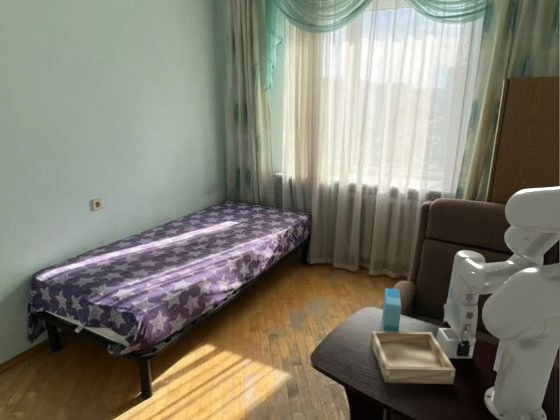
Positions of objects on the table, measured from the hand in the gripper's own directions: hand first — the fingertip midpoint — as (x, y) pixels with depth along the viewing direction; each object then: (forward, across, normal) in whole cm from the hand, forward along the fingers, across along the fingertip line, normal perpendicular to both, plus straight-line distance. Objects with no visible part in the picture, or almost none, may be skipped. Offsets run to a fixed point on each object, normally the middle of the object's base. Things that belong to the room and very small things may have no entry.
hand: (454, 344), depth 105 cm
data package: (+3, +11, +16) cm, 20 cm away
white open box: (+2, 0, 0) cm, 2 cm away
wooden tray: (+2, -5, +15) cm, 16 cm away
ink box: (+3, -10, -11) cm, 15 cm away
